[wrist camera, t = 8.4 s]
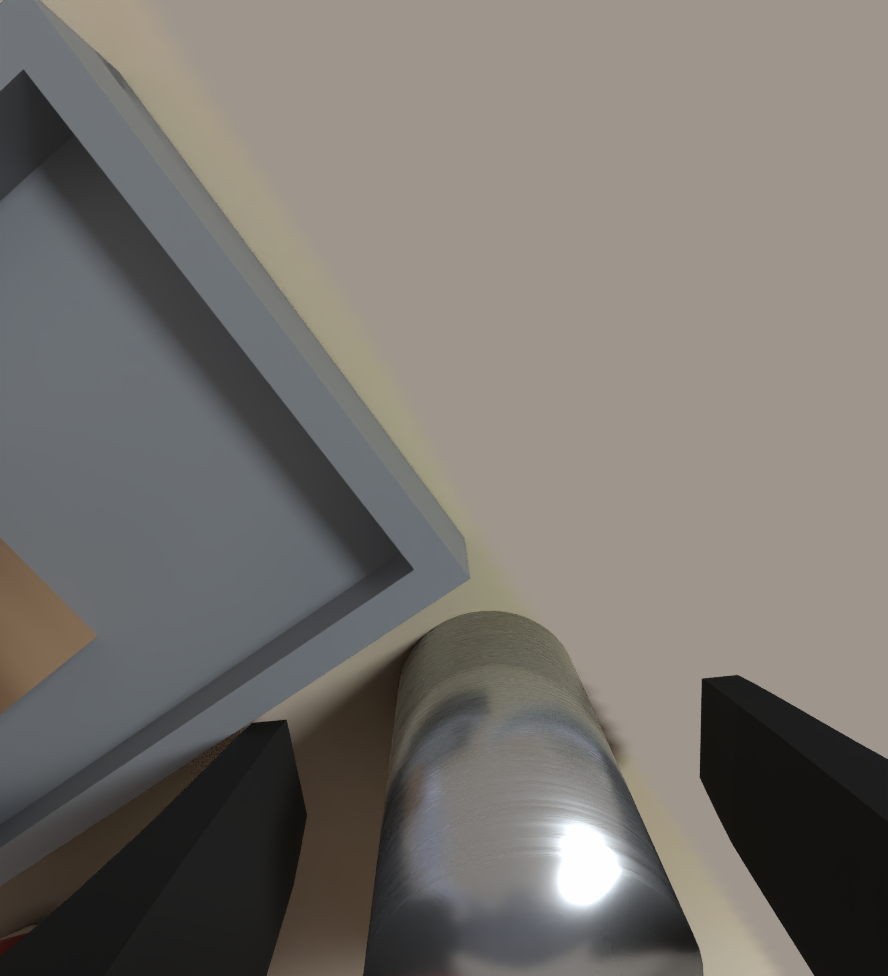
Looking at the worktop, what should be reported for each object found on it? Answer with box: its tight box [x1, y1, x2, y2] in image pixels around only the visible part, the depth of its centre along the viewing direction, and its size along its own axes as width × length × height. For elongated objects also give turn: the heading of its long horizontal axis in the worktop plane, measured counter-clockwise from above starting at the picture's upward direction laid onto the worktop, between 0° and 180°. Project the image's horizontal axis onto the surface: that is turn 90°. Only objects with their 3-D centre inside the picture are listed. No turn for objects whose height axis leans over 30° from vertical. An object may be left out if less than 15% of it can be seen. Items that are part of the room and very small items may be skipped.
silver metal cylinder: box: [363, 611, 703, 976], centre depth 8 cm, size 4×4×5 cm
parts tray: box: [0, 0, 470, 886], centre depth 8 cm, size 9×12×2 cm
